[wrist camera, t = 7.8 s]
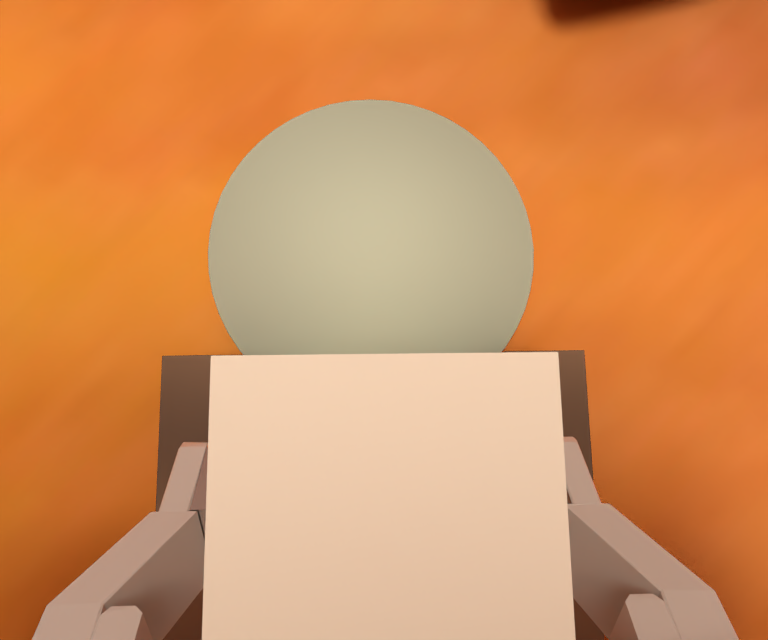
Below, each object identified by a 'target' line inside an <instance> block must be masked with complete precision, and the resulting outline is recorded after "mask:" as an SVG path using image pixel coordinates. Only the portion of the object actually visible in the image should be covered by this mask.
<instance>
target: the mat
mask: <svg viewBox="0 0 768 640" xmlns="http://www.w3.org/2000/svg"><path fill="white" fill-rule="evenodd" d="M533 252H534V249H533V241H532V233H531V227H530V224H529V220H528V216H527V212H526V209H525V206H524V204H523V201H522V199H521V196H520V194H519V192H518V190H517V188H516V186H515V184H514V183H513V181H512V179H511V177H510V176H509V174H508V172H507V171H506V170H505V168H504V167H503V166H502V164H501V163H500V162H499V160H498V159H497V158H496V156H495V155H494V154H493V153H492V152H491V151H490V150H489V149H488V148H487V147H486V146H485V145H484V144H483V143H482V142H481V141H479V140H478V139H477V138H476V137H474V136H473V135H472V134H471V133H469V132H468V131H467V130H466V129H464V128H462V127H461V126H459V125H457V124H456V123H454V122H452V121H451V120H449V119H447V118H445V117H443V116H441V115H438V114H436V113H434V112H432V111H429V110H426V109H423V108H420V107H417V106H413V105H410V104H405V103H399V102H394V101H384V100H356V101H346V102H341V103H335V104H330V105H327V106H324V107H320V108H317V109H314V110H311V111H308V112H306V113H304V114H302V115H300V116H298V117H295V118H293V119H291V120H289V121H288V122H286V123H285V124H283V125H281V126H280V127H278V128H277V129H275V130H274V131H272V132H271V133H270V134H269V135H267V136H266V137H265V138H264V139H262V140H261V141H260V142H259V143H258V144H257V145H256V146H255V147H254V148H253V149H252V150H251V151H250V152H249V153H248V154H247V155H246V156H245V157H244V159H243V160H242V161H241V163H240V164H239V165H238V167H237V168H236V169H235V171H234V172H233V174H232V175H231V177H230V179H229V181H228V183H227V184H226V186H225V188H224V190H223V192H222V194H221V197H220V199H219V202H218V204H217V207H216V210H215V213H214V217H213V221H212V225H211V230H210V237H209V247H208V264H209V277H210V282H211V288H212V294H213V297H214V300H215V303H216V306H217V309H218V312H219V315H220V317H221V319H222V321H223V323H224V325H225V327H226V329H227V332H228V333H229V335H230V337H231V338H232V340H233V341H234V343H235V344H236V346H237V347H238V349H239V350H240V351H241V353H242V354H243V355H317V354H411V353H501V352H502V351H503V350H504V348H505V347H506V345H507V344H508V342H509V340H510V339H511V337H512V336H513V334H514V332H515V331H516V329H517V327H518V324H519V322H520V320H521V318H522V315H523V313H524V311H525V307H526V304H527V300H528V297H529V293H530V290H531V283H532V276H533Z"/></svg>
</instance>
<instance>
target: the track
mask: <svg viewBox="0 0 768 640" xmlns="http://www.w3.org/2000/svg"><path fill="white" fill-rule="evenodd" d="M505 352H558V356H559V373H560V390H561V406H562V423H563V437H574V438H575V439H576V440H577V442H578V445H579V447H580V450H581V452H582V455H583V457H584V460H585V462H586V465H587V468H588V470H589V473H590V475H591V478H592V480H593V470H592V456H591V441H590V427H589V413H588V398H587V384H586V369H585V355H584V350H568V351H505ZM505 352H503V353H505ZM211 356H223V355H190V356H162V375H161V399H160V423H159V447H158V471H157V495H156V512H159V509H160V505H161V502H162V499H163V496H164V493H165V490H166V487H167V484H168V480H169V477H170V474H171V471H172V468H173V465H174V462H175V459H176V455H177V452H178V449H179V448H180V446H181V445H182V443H183V442H208V428H209V397H210V365H211ZM573 605H574V621H575V638H576V640H604V633H603V632H602V631H601V630H600V629H599V627H598V626H597V625H596V624H595V623H594V622H593V620H592V619H591V618H590V617H589V616H588V615H587V613H586V612H585V611H584V610H583V609H582V608H581V606H580V605H579V604H578V603H577V602H576V600H575V599H574V598H573ZM202 616H203V589H202V590H201V591H200V593H199V594H198V595H197V596H196V598H195V599H194V600H193V601H192V603H191V604H190V605H189V607H188V608H187V609H186V610H185V612H184V613H183V614H182V616H181V617H180V618H179V619H178V621H177V622H176V623H175V624H174V626H173V627H172V628H171V630H170V631H169V632H168V633H167V635H166V636H165V637H164V639H163V640H202Z"/></svg>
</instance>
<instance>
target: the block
mask: <svg viewBox="0 0 768 640" xmlns="http://www.w3.org/2000/svg"><path fill="white" fill-rule="evenodd" d="M202 640H576V638H575V621H574V605H573V588H572V572H571V555H570V539H569V522H568V505H567V489H566V472H565V456H564V439H563V423H562V406H561V390H560V373H559V356H558V352H505V353H411V354H317V355H223V356H211V365H210V397H209V428H208V459H207V491H206V522H205V554H204V585H203V616H202Z"/></svg>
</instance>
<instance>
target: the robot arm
mask: <svg viewBox="0 0 768 640" xmlns="http://www.w3.org/2000/svg"><path fill="white" fill-rule="evenodd" d="M563 439H564V456H565V472H566V489H567V505H568V522H569V539H570V555H571V572H572V588H573V598H574V599H575V600H576V602H577V603H578V604H579V605H580V606H581V608H582V609H583V610H584V611H585V612H586V613H587V615H588V616H589V617H590V618H591V619H592V620H593V622H594V623H595V624H596V625H597V626H598V627H599V629H600V630H601V631H602V632H603V633H604V635H605V636H606V637H607V638H608V639H609V640H739V638H738V636H737V634H736V632H735V630H734V628H733V626H732V624H731V622H730V620H729V618H728V616H727V614H726V612H725V610H724V608H723V606H722V604H721V602H720V600H719V598H718V596H717V594H716V592H715V590H713V589H712V588H711V587H710V586H708V585H707V584H706V583H705V582H704V581H702V580H701V579H700V578H699V577H698V576H696V575H695V574H694V573H693V572H692V571H690V570H689V569H688V568H687V567H685V566H684V565H683V564H682V563H681V562H679V561H678V560H677V559H676V558H675V557H673V556H672V555H671V554H670V553H669V552H667V551H666V550H665V549H664V548H662V547H661V546H660V545H659V544H658V543H656V542H655V541H654V540H653V539H652V538H650V537H649V536H648V535H647V534H646V533H644V532H643V531H642V530H641V529H639V528H638V527H637V526H636V525H635V524H633V523H632V522H631V521H630V520H629V519H627V518H626V517H625V516H624V515H623V514H621V513H620V512H619V511H618V510H616V509H615V508H614V507H613V506H612V505H610V504H609V503H601V501H600V498H599V496H598V493H597V490H596V488H595V485H594V483H593V480H592V478H591V475H590V473H589V470H588V468H587V465H586V462H585V460H584V457H583V455H582V452H581V450H580V447H579V445H578V442H577V440H576V439H575V438H574V437H563ZM207 459H208V442H183V443H182V445H181V446H180V448H179V449H178V452H177V455H176V459H175V462H174V465H173V468H172V471H171V474H170V477H169V480H168V484H167V487H166V490H165V493H164V496H163V499H162V502H161V505H160V509H159V512H150V513H149V514H148V515H147V516H146V517H144V518H143V519H142V520H141V521H140V522H139V523H138V524H137V525H136V526H134V527H133V528H132V529H131V530H130V531H129V532H128V533H127V534H126V535H124V536H123V537H122V538H121V539H120V540H119V541H118V542H117V543H116V544H114V545H113V546H112V547H111V548H110V549H109V550H108V551H107V552H106V553H104V554H103V555H102V556H101V557H100V558H99V559H98V560H97V561H95V562H94V563H93V564H92V565H91V566H90V567H89V568H88V569H87V570H85V571H84V572H83V573H82V574H81V575H80V576H79V577H78V578H77V579H75V580H74V581H73V582H72V583H71V584H70V585H69V586H68V587H67V588H65V589H64V590H63V591H62V592H61V593H60V594H59V595H58V596H57V597H55V598H54V599H53V600H52V601H51V602H50V603H49V604H48V605H47V606H46V608H45V610H44V613H43V615H42V617H41V620H40V622H39V624H38V627H37V629H36V631H35V633H34V636H33V638H32V640H163V639H164V637H165V636H166V635H167V633H168V632H169V631H170V630H171V628H172V627H173V626H174V624H175V623H176V622H177V621H178V619H179V618H180V617H181V616H182V614H183V613H184V612H185V610H186V609H187V608H188V607H189V605H190V604H191V603H192V601H193V600H194V599H195V598H196V596H197V595H198V594H199V593H200V591H201V590H202V589H203V585H204V554H205V522H206V491H207Z"/></svg>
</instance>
